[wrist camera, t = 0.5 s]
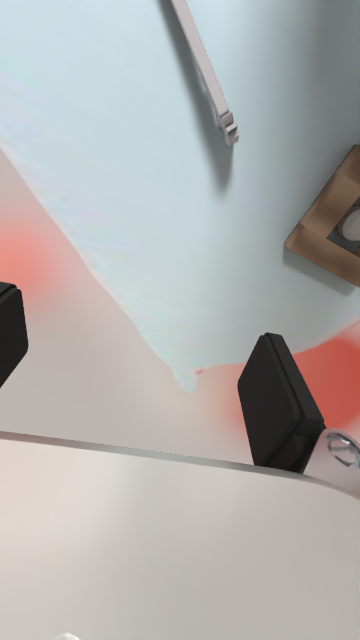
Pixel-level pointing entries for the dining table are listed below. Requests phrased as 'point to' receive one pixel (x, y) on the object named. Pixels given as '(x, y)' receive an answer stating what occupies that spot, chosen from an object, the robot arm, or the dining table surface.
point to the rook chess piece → (350, 224)
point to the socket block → (331, 222)
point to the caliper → (206, 72)
